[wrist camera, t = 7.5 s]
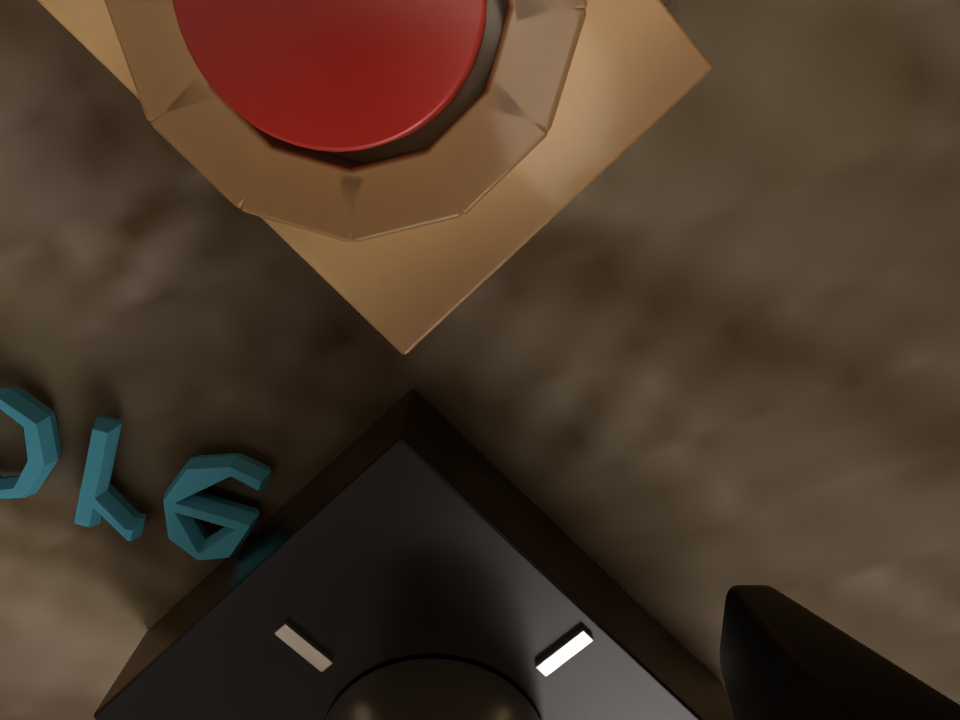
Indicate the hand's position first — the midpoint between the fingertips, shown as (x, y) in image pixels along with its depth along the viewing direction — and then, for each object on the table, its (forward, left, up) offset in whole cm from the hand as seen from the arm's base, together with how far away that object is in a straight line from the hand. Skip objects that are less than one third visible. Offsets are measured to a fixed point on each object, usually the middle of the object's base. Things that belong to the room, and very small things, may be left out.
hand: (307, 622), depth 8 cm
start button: (+5, -5, -6) cm, 9 cm away
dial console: (-7, +5, -10) cm, 13 cm away
